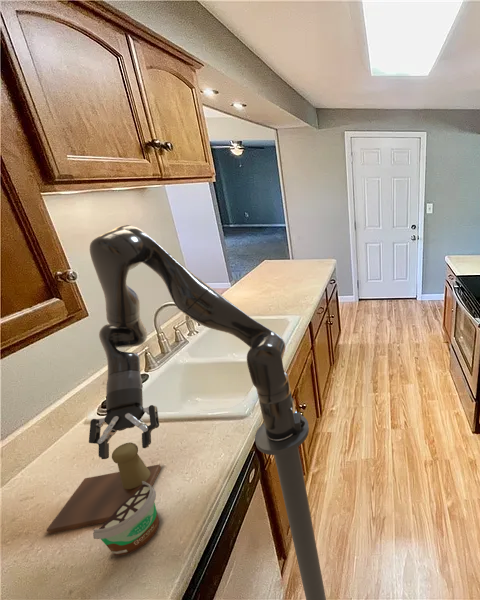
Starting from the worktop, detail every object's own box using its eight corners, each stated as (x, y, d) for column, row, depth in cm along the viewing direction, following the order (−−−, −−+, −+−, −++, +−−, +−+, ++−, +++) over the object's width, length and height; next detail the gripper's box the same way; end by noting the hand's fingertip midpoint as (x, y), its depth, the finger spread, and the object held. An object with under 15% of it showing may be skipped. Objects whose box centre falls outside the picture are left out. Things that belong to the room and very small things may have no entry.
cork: (148, 465, 91) (136, 435, 87) (152, 479, 87) (138, 448, 83) (121, 478, 88) (106, 447, 84) (123, 493, 84) (108, 461, 79)
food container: (132, 568, 69) (115, 537, 65) (107, 562, 70) (90, 532, 66) (178, 511, 80) (166, 482, 77) (156, 507, 81) (144, 478, 78)
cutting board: (161, 468, 92) (160, 464, 92) (137, 515, 80) (135, 511, 79) (86, 482, 89) (84, 478, 88) (48, 534, 76) (46, 530, 75)
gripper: (84, 395, 84) (82, 463, 79) (150, 381, 89) (153, 443, 84) (99, 400, 90) (98, 462, 85) (160, 386, 96) (163, 444, 90)
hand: (125, 453), depth 84 cm, fingers open, 8 cm apart
